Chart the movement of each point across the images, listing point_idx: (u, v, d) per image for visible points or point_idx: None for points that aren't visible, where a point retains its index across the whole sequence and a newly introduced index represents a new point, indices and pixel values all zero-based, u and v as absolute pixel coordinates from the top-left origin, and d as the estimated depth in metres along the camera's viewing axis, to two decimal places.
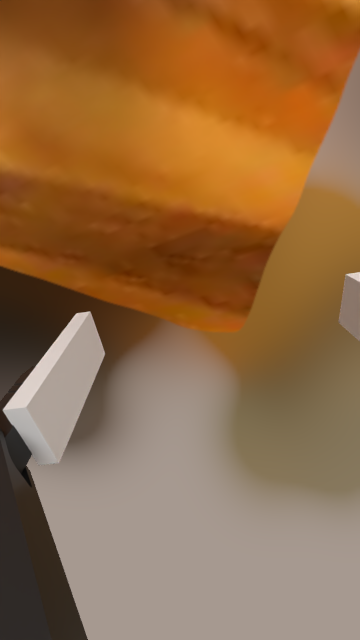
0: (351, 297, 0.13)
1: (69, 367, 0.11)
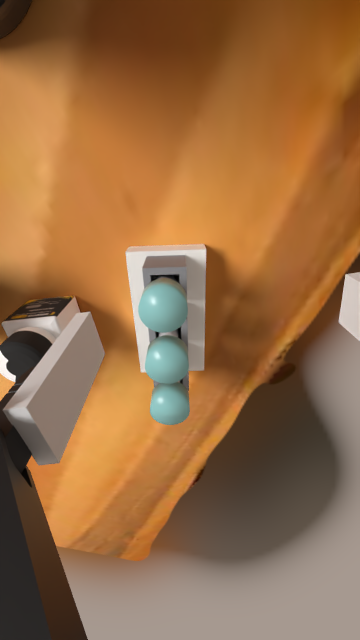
0: (351, 297, 0.13)
1: (69, 367, 0.11)
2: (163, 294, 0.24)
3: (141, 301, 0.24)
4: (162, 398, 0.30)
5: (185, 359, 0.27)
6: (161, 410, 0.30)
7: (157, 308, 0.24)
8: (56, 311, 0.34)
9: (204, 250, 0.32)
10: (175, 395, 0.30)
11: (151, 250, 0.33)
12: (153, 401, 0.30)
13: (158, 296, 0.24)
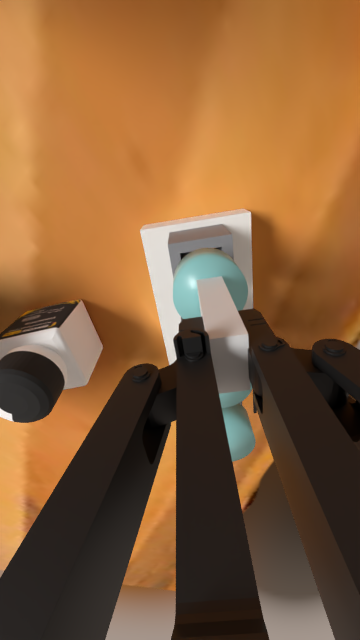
0: None
1: None
2: (209, 268, 0.15)
3: (176, 283, 0.16)
4: None
5: None
6: None
7: None
8: (58, 321, 0.25)
9: (248, 213, 0.23)
10: (233, 422, 0.21)
11: (174, 223, 0.24)
12: None
13: (202, 272, 0.15)
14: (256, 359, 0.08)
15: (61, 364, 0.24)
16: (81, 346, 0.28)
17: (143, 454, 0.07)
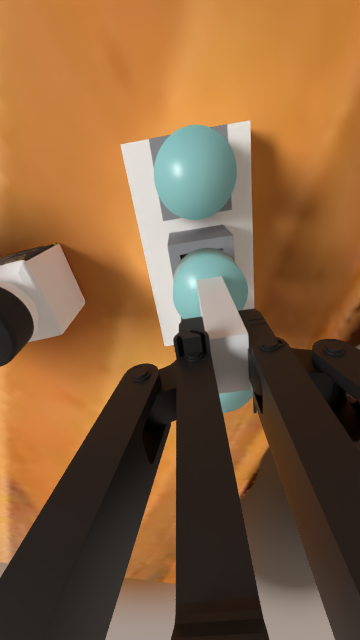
0: None
1: None
2: (193, 139, 0.14)
3: (157, 159, 0.14)
4: None
5: (242, 276, 0.15)
6: None
7: (184, 170, 0.14)
8: (26, 256, 0.22)
9: (247, 123, 0.20)
10: None
11: None
12: None
13: (185, 144, 0.14)
14: (256, 359, 0.08)
15: (29, 303, 0.21)
16: (56, 290, 0.24)
17: (143, 454, 0.07)
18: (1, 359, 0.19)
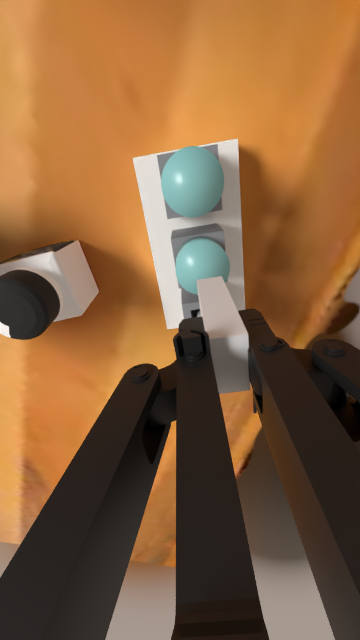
0: None
1: None
2: (191, 156, 0.18)
3: (164, 171, 0.19)
4: None
5: (225, 255, 0.22)
6: None
7: (184, 179, 0.19)
8: (54, 249, 0.26)
9: (235, 140, 0.24)
10: None
11: (165, 152, 0.25)
12: None
13: (185, 160, 0.18)
14: (256, 359, 0.08)
15: (57, 287, 0.25)
16: (76, 278, 0.29)
17: (143, 454, 0.07)
18: (35, 331, 0.24)
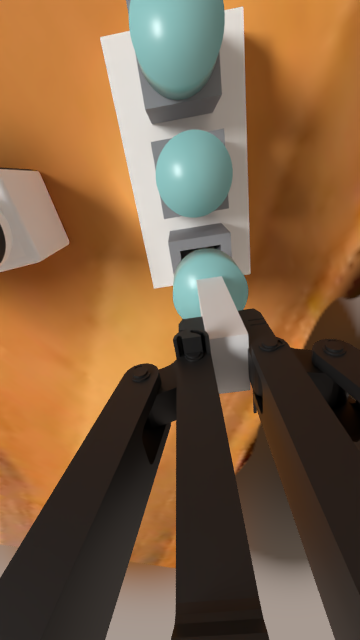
0: None
1: None
2: None
3: (133, 1, 0.12)
4: (193, 265, 0.15)
5: (226, 153, 0.15)
6: (195, 296, 0.16)
7: (164, 16, 0.12)
8: None
9: (240, 10, 0.18)
10: (219, 257, 0.15)
11: None
12: (177, 277, 0.16)
13: None
14: (256, 359, 0.08)
15: (0, 216, 0.19)
16: (33, 214, 0.22)
17: (143, 454, 0.07)
18: None
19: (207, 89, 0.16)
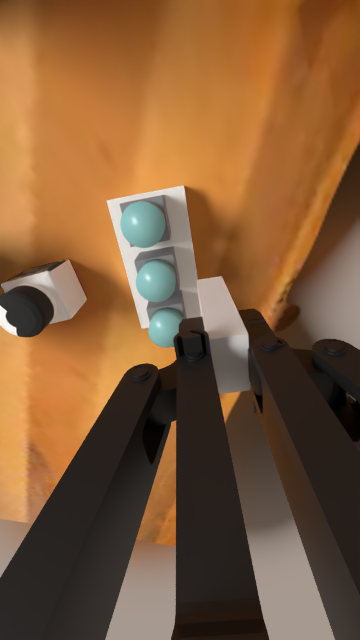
0: None
1: None
2: (139, 208, 0.27)
3: (122, 218, 0.27)
4: (157, 319, 0.32)
5: (170, 273, 0.30)
6: (159, 332, 0.33)
7: (136, 223, 0.27)
8: (49, 268, 0.35)
9: (182, 186, 0.33)
10: (169, 314, 0.33)
11: None
12: (150, 323, 0.33)
13: (135, 210, 0.27)
14: (256, 359, 0.08)
15: (51, 297, 0.34)
16: (67, 290, 0.37)
17: (143, 454, 0.07)
18: (35, 330, 0.32)
19: (162, 238, 0.31)
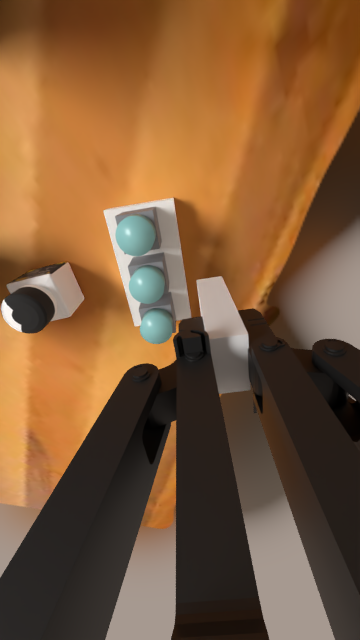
0: None
1: None
2: (132, 222, 0.30)
3: (117, 230, 0.31)
4: (147, 318, 0.36)
5: (160, 279, 0.34)
6: (149, 330, 0.37)
7: (129, 234, 0.31)
8: (50, 271, 0.39)
9: (171, 199, 0.36)
10: (158, 315, 0.36)
11: (125, 206, 0.37)
12: (141, 322, 0.37)
13: (129, 224, 0.30)
14: (256, 359, 0.08)
15: (52, 297, 0.38)
16: (66, 290, 0.41)
17: (143, 454, 0.07)
18: (38, 327, 0.36)
19: (152, 246, 0.34)
